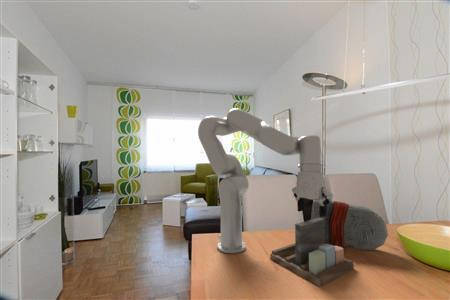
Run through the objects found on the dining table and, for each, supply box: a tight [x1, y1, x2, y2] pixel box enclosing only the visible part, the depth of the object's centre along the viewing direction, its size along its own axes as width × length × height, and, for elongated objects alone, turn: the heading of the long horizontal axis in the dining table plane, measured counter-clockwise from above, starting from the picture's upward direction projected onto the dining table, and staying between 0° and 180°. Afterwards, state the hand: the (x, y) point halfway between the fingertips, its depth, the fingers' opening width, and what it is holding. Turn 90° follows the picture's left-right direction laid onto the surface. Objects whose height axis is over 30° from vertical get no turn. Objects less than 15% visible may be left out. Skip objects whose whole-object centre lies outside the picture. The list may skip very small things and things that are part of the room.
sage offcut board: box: [309, 250, 326, 276], centre depth 77 cm, size 3×5×8 cm, turn 122°
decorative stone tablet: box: [310, 200, 389, 251], centre depth 102 cm, size 19×6×30 cm
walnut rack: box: [269, 242, 355, 287], centre depth 86 cm, size 22×20×3 cm
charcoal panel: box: [294, 218, 326, 267], centre depth 86 cm, size 2×14×16 cm, turn 122°
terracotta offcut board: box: [335, 246, 345, 265], centre depth 83 cm, size 3×5×7 cm, turn 122°
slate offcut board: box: [319, 243, 335, 270], centre depth 80 cm, size 3×5×9 cm, turn 122°
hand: (311, 213), depth 86 cm, fingers open, 9 cm apart
